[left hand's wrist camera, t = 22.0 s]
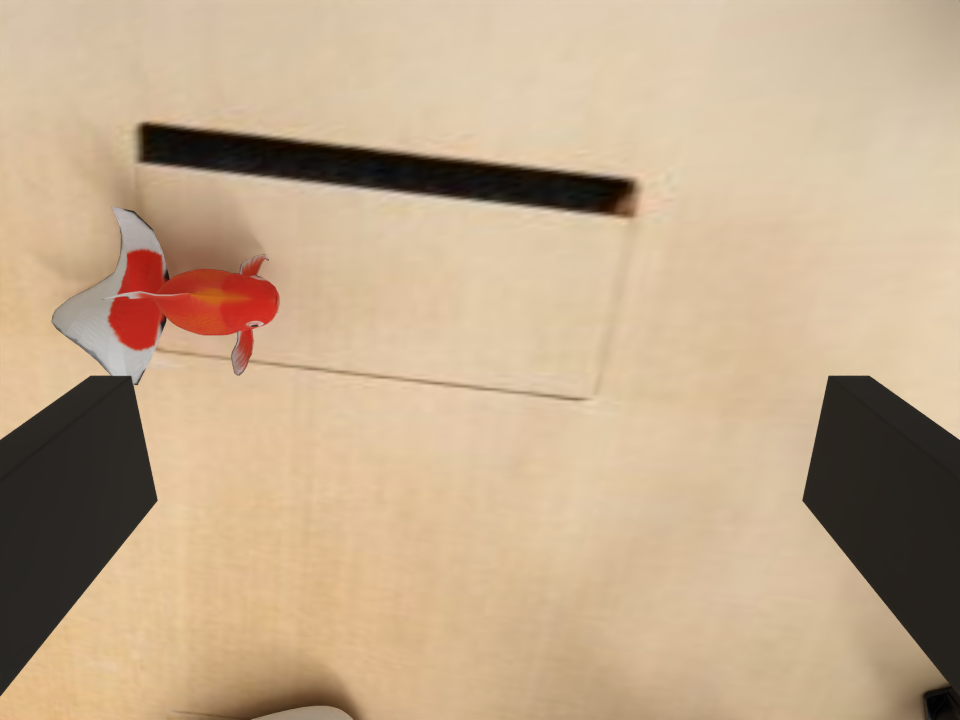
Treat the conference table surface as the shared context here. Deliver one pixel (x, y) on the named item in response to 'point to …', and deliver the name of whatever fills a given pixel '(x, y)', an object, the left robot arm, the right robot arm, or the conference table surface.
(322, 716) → the projector
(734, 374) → the conference table surface
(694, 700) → the conference table surface
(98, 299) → the fish
